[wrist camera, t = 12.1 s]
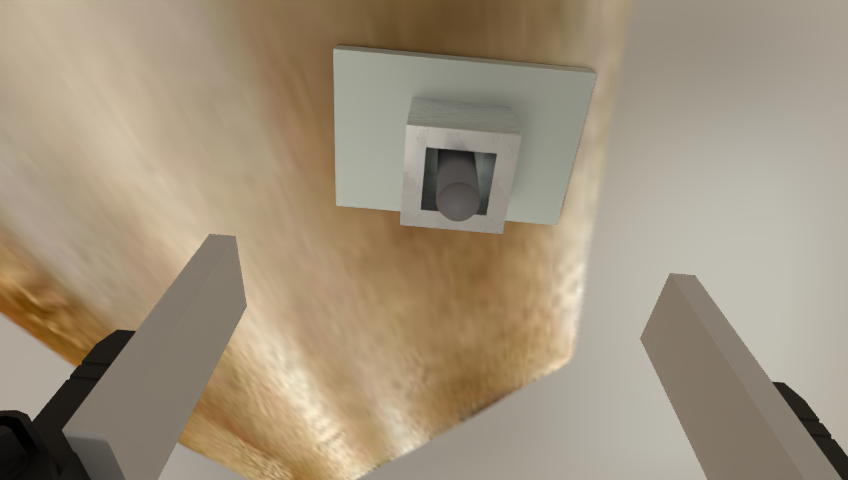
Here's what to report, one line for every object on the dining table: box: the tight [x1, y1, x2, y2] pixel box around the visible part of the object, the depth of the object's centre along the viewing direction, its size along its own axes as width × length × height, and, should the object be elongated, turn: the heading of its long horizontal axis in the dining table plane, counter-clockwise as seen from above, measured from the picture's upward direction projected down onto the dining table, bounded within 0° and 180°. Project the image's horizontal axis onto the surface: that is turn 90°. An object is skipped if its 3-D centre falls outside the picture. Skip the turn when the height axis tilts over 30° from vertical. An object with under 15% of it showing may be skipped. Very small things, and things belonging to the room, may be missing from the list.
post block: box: [333, 45, 597, 225], centre depth 32 cm, size 12×18×12 cm, turn 85°
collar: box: [400, 97, 522, 234], centre depth 33 cm, size 7×7×6 cm
